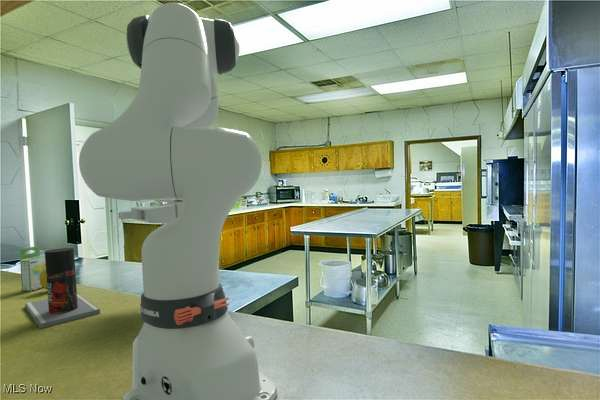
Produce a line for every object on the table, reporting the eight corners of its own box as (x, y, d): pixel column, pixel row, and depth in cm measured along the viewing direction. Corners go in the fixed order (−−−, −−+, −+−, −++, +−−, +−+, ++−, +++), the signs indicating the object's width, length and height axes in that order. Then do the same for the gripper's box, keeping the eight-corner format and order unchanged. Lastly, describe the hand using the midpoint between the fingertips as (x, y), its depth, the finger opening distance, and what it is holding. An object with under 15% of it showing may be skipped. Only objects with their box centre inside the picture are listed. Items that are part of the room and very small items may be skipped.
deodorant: (83, 305, 88) (79, 247, 87) (65, 314, 82) (60, 252, 82) (62, 305, 89) (58, 248, 88) (42, 314, 83) (38, 252, 82)
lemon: (43, 290, 108) (41, 265, 108) (64, 287, 110) (62, 262, 110) (38, 295, 103) (36, 268, 103) (60, 292, 105) (58, 266, 105)
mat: (100, 313, 85) (99, 308, 85) (40, 328, 76) (39, 323, 76) (77, 295, 100) (77, 292, 100) (25, 307, 92) (24, 303, 92)
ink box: (31, 292, 107) (29, 249, 106) (21, 291, 107) (18, 249, 107) (52, 285, 113) (49, 245, 113) (42, 285, 114) (39, 245, 114)
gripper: (162, 201, 106) (111, 203, 97) (185, 201, 89) (127, 204, 81) (163, 221, 106) (112, 225, 97) (186, 225, 90) (128, 230, 81)
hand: (119, 215), depth 89 cm, fingers closed
